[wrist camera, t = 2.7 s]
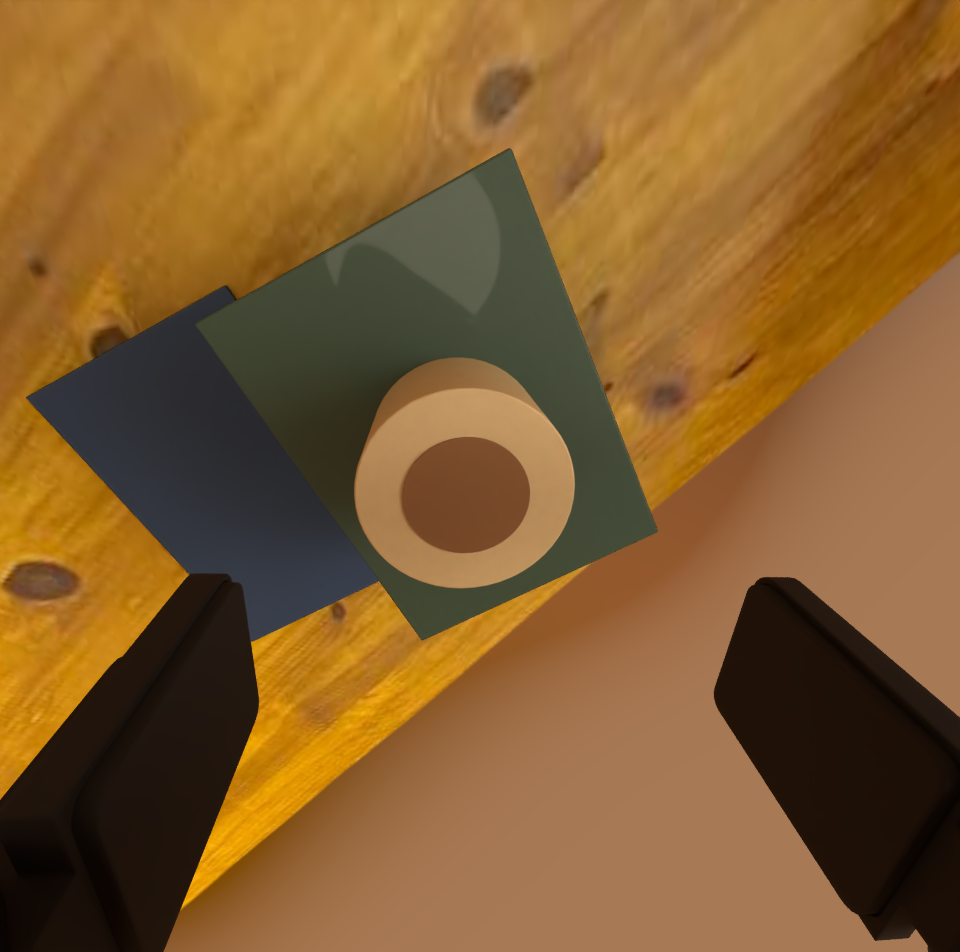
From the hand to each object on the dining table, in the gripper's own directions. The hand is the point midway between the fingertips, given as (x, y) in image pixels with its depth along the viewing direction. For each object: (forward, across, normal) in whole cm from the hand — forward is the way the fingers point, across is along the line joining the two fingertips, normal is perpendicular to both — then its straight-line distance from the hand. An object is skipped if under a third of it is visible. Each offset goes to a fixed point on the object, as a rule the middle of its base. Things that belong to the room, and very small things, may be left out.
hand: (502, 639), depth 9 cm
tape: (+11, 0, 0) cm, 11 cm away
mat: (+22, +13, +7) cm, 26 cm away
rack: (+22, 0, 0) cm, 22 cm away
